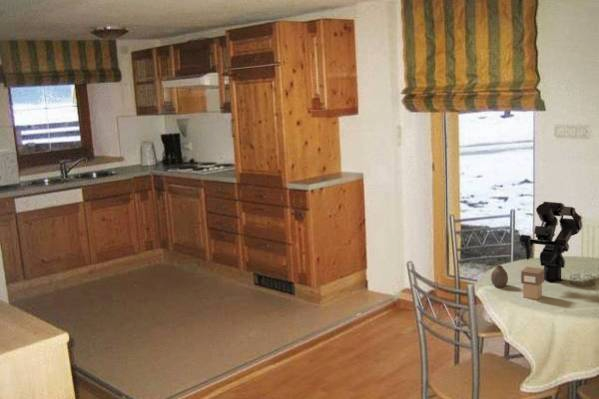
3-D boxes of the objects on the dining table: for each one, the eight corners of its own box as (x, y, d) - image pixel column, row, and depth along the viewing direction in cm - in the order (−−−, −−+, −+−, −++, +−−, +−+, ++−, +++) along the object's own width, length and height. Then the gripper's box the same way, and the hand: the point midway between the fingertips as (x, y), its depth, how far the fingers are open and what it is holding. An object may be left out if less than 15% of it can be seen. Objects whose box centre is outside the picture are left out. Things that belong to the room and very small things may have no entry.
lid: (527, 278, 259) (527, 266, 258) (544, 280, 255) (544, 269, 254) (521, 283, 254) (521, 271, 253) (538, 285, 250) (538, 273, 249)
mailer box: (528, 293, 260) (528, 269, 258) (542, 295, 256) (542, 271, 254) (523, 297, 255) (523, 272, 253) (537, 299, 252) (537, 274, 250)
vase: (508, 288, 266) (508, 268, 265) (491, 288, 268) (491, 268, 266) (507, 283, 273) (506, 263, 271) (490, 283, 274) (490, 263, 273)
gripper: (520, 215, 265) (510, 247, 259) (567, 219, 254) (558, 253, 247) (527, 230, 273) (517, 261, 266) (572, 234, 261) (564, 267, 255)
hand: (538, 260), depth 258 cm, fingers open, 9 cm apart
